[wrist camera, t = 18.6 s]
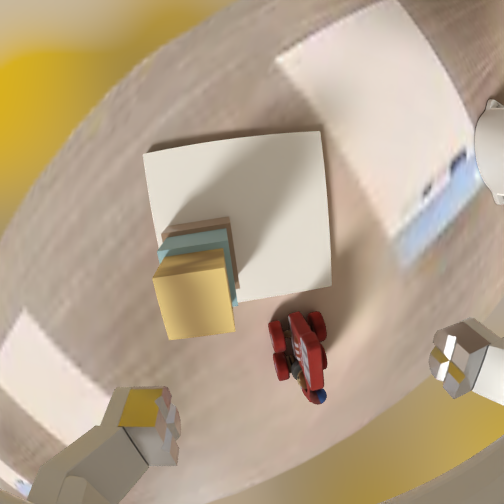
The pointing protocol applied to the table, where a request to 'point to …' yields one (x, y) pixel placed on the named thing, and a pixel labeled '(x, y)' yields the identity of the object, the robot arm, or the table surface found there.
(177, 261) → the ochre block
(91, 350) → the table surface
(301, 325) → the toy fire truck
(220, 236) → the teal block
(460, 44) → the table surface
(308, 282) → the board
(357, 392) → the table surface
